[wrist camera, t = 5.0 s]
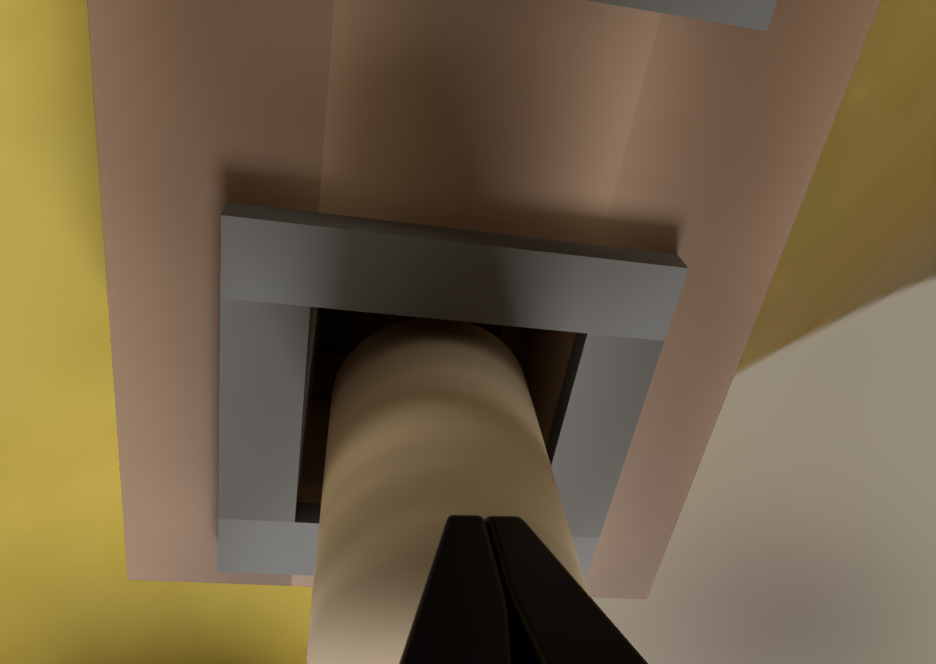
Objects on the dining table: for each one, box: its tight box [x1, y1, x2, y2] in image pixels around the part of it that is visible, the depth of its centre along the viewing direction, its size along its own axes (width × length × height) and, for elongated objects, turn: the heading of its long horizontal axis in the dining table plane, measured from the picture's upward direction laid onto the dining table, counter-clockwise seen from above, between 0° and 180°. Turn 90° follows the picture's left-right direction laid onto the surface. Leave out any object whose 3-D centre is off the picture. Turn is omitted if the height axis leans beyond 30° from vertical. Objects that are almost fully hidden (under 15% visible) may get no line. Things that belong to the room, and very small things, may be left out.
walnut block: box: [87, 0, 881, 599], centre depth 15 cm, size 12×22×7 cm, turn 170°
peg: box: [307, 318, 589, 664], centre depth 13 cm, size 4×4×6 cm
